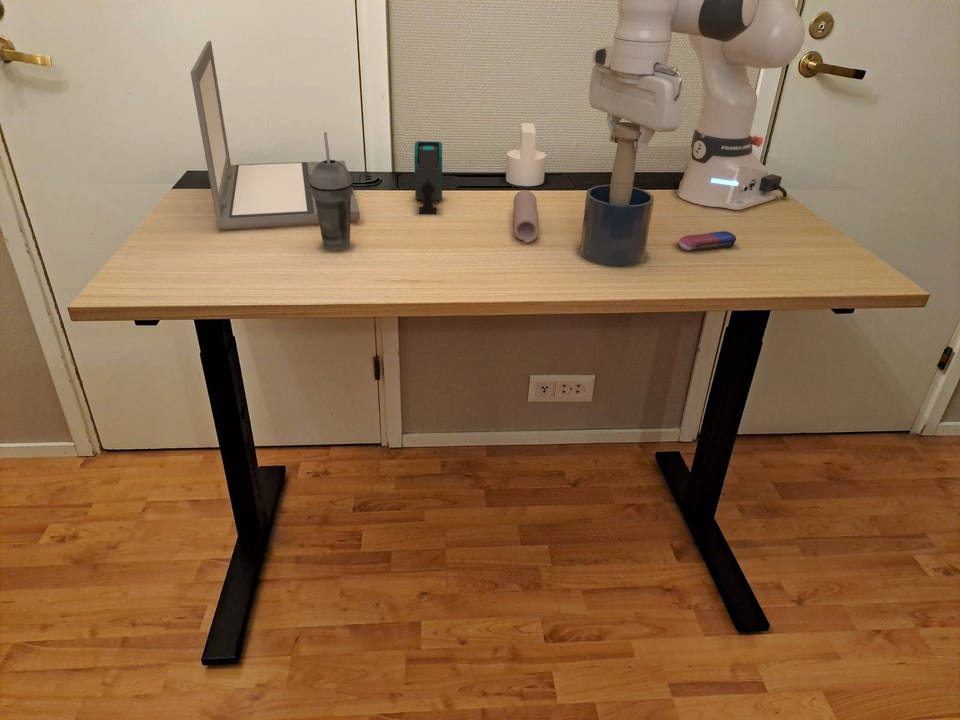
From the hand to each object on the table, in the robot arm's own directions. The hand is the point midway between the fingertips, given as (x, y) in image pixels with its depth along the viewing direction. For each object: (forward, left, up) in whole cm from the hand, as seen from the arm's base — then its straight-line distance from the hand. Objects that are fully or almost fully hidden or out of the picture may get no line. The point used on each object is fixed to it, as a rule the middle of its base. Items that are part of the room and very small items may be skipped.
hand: (627, 147), depth 117 cm
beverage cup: (+45, -22, -20) cm, 54 cm away
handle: (0, 0, -12) cm, 12 cm away
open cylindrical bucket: (0, 0, -19) cm, 19 cm away
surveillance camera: (+21, -36, -20) cm, 46 cm away
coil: (+8, -18, -20) cm, 28 cm away
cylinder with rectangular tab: (-7, -44, -20) cm, 49 cm away
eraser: (-19, +4, -20) cm, 27 cm away
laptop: (+47, -51, -19) cm, 72 cm away
